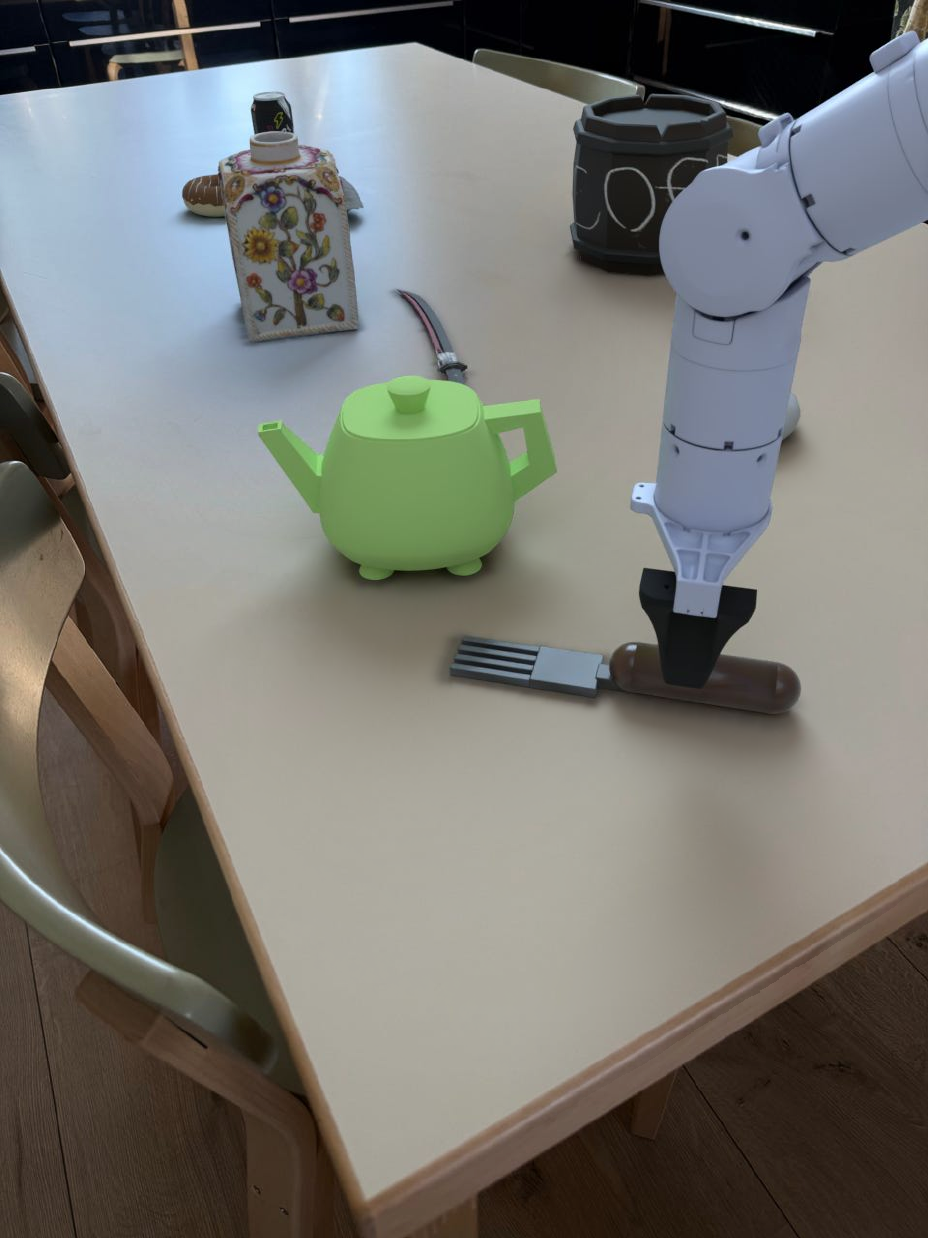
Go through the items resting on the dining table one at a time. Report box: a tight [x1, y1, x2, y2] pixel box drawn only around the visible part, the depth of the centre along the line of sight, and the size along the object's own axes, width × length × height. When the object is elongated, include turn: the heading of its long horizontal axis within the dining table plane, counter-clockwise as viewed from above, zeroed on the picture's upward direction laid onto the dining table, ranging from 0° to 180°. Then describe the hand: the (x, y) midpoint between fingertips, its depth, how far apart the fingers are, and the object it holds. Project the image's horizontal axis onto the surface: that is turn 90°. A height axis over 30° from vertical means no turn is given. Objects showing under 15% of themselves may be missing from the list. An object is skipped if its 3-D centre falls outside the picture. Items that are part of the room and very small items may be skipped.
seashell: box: [338, 175, 364, 212], centre depth 132 cm, size 12×8×5 cm
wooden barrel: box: [569, 93, 734, 277], centre depth 113 cm, size 18×18×16 cm
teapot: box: [257, 375, 558, 581], centre depth 68 cm, size 20×13×13 cm
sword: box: [396, 289, 468, 386], centre depth 99 cm, size 31×3×1 cm, turn 13°
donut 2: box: [181, 173, 225, 218], centre depth 136 cm, size 11×11×4 cm
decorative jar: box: [217, 131, 360, 343], centre depth 100 cm, size 12×12×18 cm
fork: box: [449, 635, 802, 715], centre depth 59 cm, size 20×3×3 cm, turn 75°
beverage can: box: [250, 91, 296, 135], centre depth 143 cm, size 6×6×12 cm
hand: (690, 637), depth 56 cm, fingers open, 7 cm apart
